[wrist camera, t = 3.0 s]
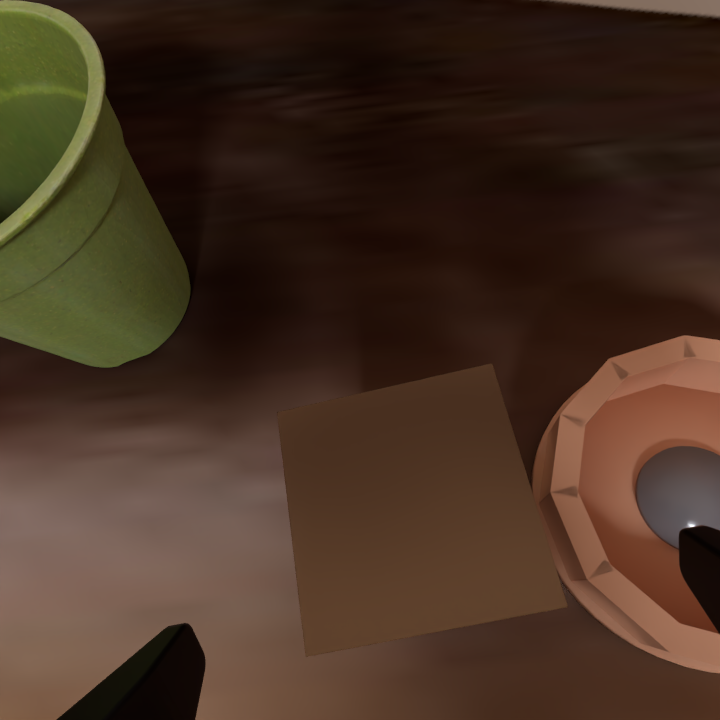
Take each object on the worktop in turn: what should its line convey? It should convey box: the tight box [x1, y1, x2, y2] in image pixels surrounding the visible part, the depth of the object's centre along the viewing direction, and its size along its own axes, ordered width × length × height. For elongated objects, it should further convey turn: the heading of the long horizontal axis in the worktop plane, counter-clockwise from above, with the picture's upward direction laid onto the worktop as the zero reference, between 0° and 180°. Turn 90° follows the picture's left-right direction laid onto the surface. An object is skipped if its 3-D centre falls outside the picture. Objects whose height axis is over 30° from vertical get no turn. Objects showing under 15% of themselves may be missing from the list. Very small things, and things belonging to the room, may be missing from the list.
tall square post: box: [277, 363, 568, 657], centre depth 14 cm, size 4×4×12 cm
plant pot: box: [0, 0, 191, 367], centre depth 21 cm, size 12×12×11 cm
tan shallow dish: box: [531, 335, 720, 673], centre depth 17 cm, size 10×10×3 cm
